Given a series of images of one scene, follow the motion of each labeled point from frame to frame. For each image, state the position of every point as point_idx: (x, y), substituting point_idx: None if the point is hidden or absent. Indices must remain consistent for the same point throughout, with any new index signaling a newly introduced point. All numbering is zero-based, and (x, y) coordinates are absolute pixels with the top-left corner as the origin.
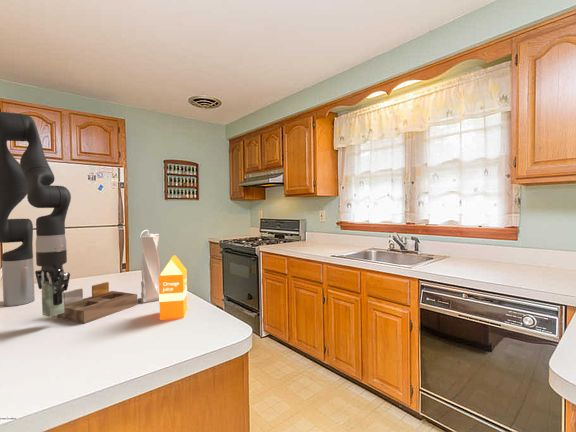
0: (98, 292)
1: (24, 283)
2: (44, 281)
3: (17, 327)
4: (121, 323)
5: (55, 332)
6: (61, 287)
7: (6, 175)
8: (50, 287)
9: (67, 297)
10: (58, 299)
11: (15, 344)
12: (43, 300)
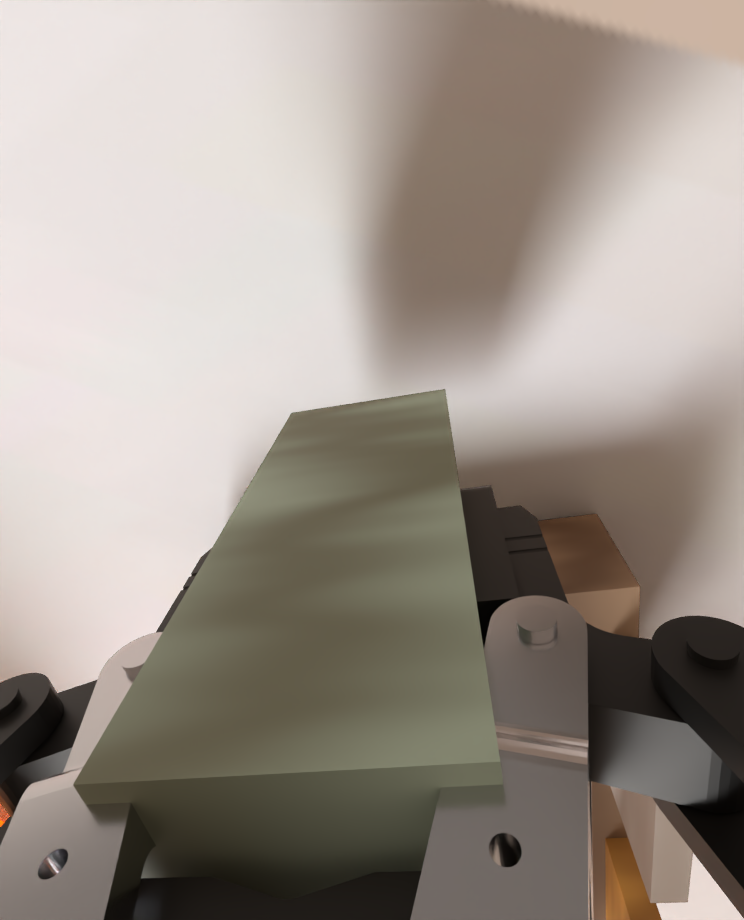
0: (614, 897)
1: None
2: (435, 863)
3: (702, 198)
4: (21, 668)
5: (191, 362)
6: (13, 803)
7: None
8: (127, 716)
9: None
10: None
11: (133, 10)
12: (414, 480)
